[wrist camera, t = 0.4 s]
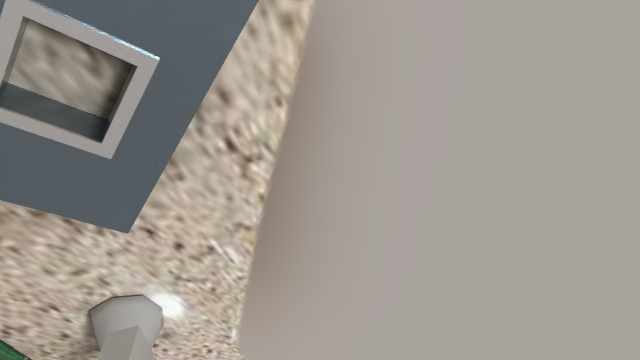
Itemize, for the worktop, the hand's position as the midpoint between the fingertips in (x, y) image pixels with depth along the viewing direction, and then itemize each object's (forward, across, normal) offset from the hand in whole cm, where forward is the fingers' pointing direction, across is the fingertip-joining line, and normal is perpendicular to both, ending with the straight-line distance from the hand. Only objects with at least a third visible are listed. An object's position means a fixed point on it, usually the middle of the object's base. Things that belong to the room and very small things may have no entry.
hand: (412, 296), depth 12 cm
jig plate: (+26, -15, +4) cm, 30 cm away
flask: (+33, -23, -22) cm, 46 cm away
